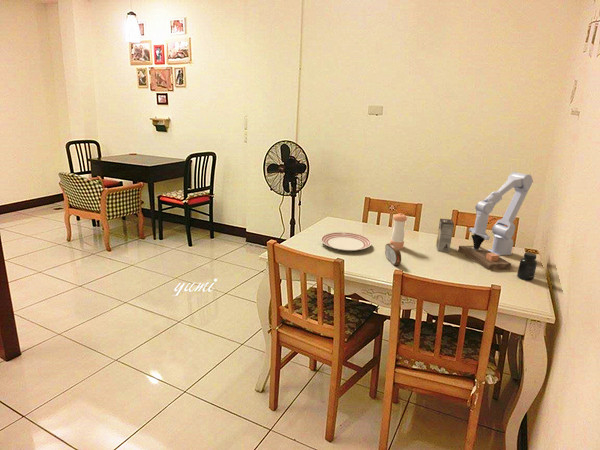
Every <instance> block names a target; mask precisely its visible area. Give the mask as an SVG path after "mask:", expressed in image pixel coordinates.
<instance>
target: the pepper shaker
mask: <svg viewBox="0 0 600 450" xmlns="http://www.w3.org/2000/svg"><path fill="white" fill-rule="evenodd" d="M407 219H408V217H407V215H406V214H403V212H399V213H396V214H395V215H393V221H394V222H393V229H392V232H391V238H390V241H389V243H393V244H394V245H395V246H396V247H397V248H398V249H399V250H401V249H403V248H404V245H405V241H404V238H405V223H406V222H407Z"/></svg>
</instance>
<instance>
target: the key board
mask: <svg viewBox="0 0 600 450" xmlns="http://www.w3.org/2000/svg"><path fill="white" fill-rule="evenodd" d="M471 247H474V245H459V246H458V249H457V252H459V253H460V254H462V255H463V256H466V257H467V258H468V259H470V260H471V261H473V262H474V263H476V264H478V265H480V266H481V267H483V268H484V269H486V270H488V271H498V270H499V271H500V270H501V271H504V270H511V268H512V263H511V262H509V261H507V260H506V259H504V258H502V257H500V256H499V259H498V261H490V260H488V259H486V254H487V253H492V252H490V251H488V249H486V248H484V247H482V246H481V245H480V247H479V248H480V249H482V251H481V252H475V251H473V250H471Z"/></svg>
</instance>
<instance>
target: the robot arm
mask: <svg viewBox="0 0 600 450" xmlns="http://www.w3.org/2000/svg"><path fill="white" fill-rule="evenodd" d="M533 182H534V179H533V176H532V175H531V174H528V173H527V174H526V173H521V172H517V171H513V172H511V173H510V175H507V180H506V181H505V182H504V183H503V184H501V185H502V186H500V187H499V189H497V190H496V191H495V190H494V191H492V192H490V194H489V195H488V196H486V197H485V198H484V199H483V200H480V201H478V202H477V203H476V205H475V206H474V207H475V211H476V212H475V214H476V217H475V222H474V226H473V227H469V229H468V231H469V233H471V234H472V235H471V238H472V242H473V246H474V248H475V249H479V247H480V246H481V245H482V244H483V242H484V241H489V240H490V238H491V236H490V235H488V233H486V231H487V227H488V226H487V225H488V222H489V218H490V214H491V213H492V212H493V211H494V208H495V206H496V205H497V204H498V203H499V202H501V200H502V199H503V196H504V195H505V194H506V193H508V192H509V191H511V189H514V191H515V192H514V193H513V196H512V198H511V200H510V202H509V204H508V205H507V208H506V210H505V213H504V214H503V217H502V218H500V219H497V221H496V223H494V225H493V226H492V228H491V229H492V230H491V231H492V233H493V242H492V247H491V249H490V248H489V249H488V248H487V250H488V251H490V252H491V253H495V254H497V255H499V256H512V255H513V253H512V251H513V248H514V247H513V246H514V239H513V236H514V234H515V229H516V225H515V223H514V221H515V219H516V217H517V215H518V213H519V211H520V209H521V207H522V205H523V202H524V201H525V198H526V197H527V195H528V192H529V191H530V188H531V186H532V185H533Z"/></svg>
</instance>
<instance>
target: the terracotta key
mask: <svg viewBox="0 0 600 450" xmlns="http://www.w3.org/2000/svg"><path fill="white" fill-rule="evenodd" d="M499 257H500V255H497V254H495V253H492V252H491V253H487V254H486V259H488V260H490V261H498V259H499Z"/></svg>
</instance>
